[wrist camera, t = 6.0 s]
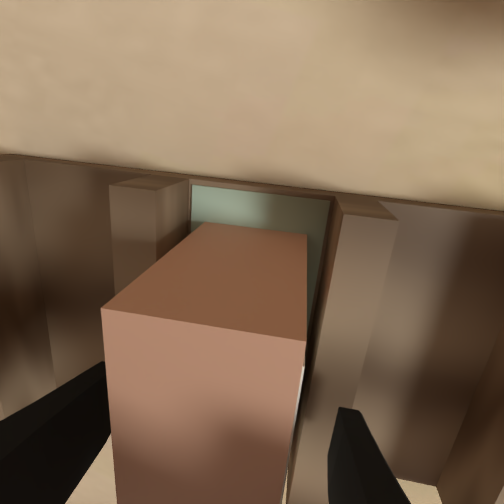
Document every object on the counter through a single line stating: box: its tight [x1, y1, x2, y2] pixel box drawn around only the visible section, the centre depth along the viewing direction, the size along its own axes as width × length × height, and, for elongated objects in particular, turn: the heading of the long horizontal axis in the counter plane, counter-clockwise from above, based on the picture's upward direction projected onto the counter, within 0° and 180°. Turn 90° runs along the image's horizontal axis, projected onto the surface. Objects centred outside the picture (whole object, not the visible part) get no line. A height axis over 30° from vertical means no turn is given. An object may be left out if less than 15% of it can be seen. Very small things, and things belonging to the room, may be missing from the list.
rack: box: [0, 154, 504, 504], centre depth 14 cm, size 13×22×4 cm, turn 85°
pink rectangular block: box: [101, 222, 307, 504], centre depth 11 cm, size 4×10×7 cm, turn 175°
